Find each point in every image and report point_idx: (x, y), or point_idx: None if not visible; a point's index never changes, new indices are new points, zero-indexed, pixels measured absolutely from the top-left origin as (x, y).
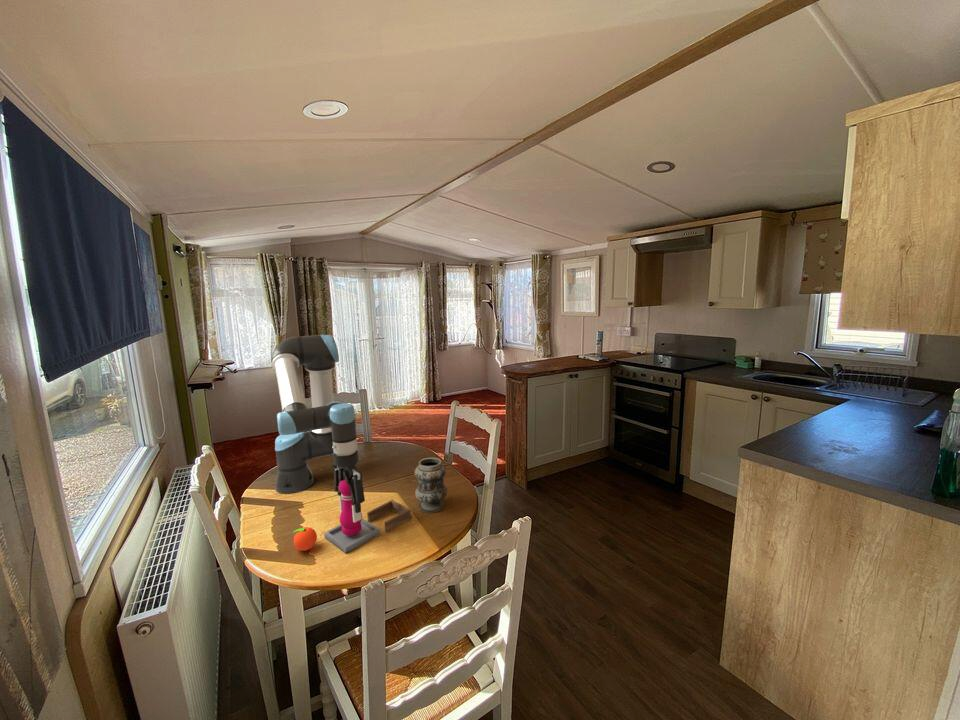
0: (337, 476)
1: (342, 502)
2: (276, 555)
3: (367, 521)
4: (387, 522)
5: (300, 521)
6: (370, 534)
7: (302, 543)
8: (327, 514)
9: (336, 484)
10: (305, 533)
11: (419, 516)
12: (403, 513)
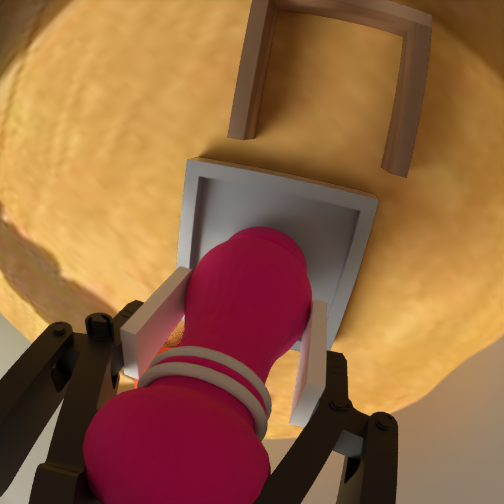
0: (18, 452)
1: (159, 341)
2: None
3: (271, 174)
4: (408, 169)
5: (50, 264)
6: (363, 251)
7: None
8: (68, 192)
9: (53, 407)
10: None
11: (435, 7)
12: (426, 60)
